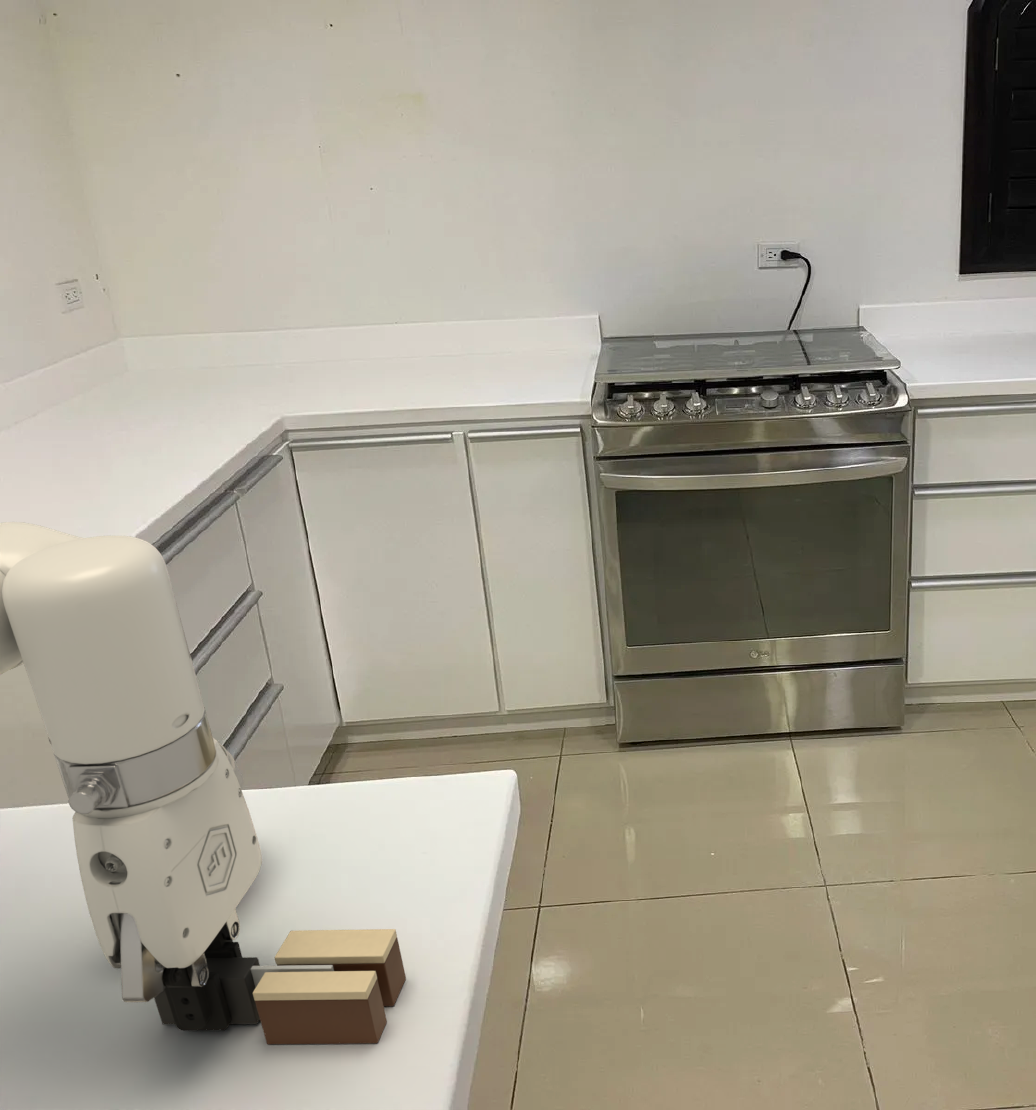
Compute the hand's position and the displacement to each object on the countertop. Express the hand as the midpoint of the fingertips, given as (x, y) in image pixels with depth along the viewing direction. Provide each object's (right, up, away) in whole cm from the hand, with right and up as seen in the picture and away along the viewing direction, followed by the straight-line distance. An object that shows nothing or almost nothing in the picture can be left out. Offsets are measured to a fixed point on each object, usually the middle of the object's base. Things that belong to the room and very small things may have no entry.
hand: (215, 1009), depth 67 cm
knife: (+3, 0, 0) cm, 3 cm away
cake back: (+8, 0, +1) cm, 8 cm away
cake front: (+8, -1, -2) cm, 8 cm away
